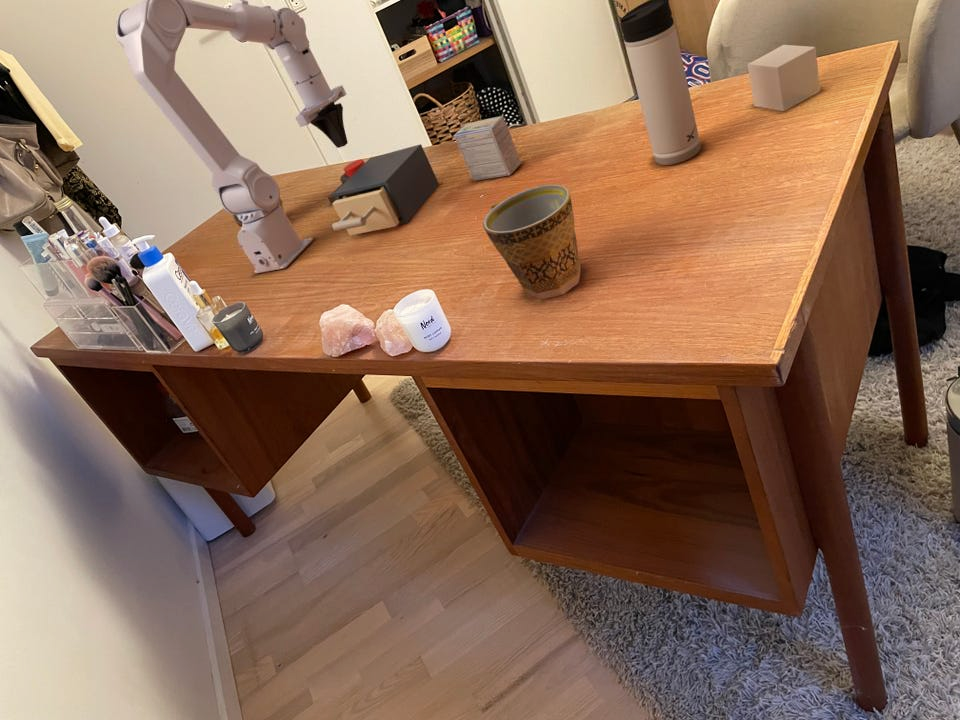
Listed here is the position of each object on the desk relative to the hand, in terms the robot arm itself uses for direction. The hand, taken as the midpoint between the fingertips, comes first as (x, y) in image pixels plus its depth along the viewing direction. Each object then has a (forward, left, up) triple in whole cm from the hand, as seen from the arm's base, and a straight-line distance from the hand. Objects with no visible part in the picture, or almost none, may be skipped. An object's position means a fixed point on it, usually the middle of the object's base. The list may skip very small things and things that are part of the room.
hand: (342, 145), depth 135 cm
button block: (+1, 0, -9) cm, 9 cm away
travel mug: (-16, -67, -9) cm, 69 cm away
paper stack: (-8, -35, -9) cm, 37 cm away
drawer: (-20, -17, -8) cm, 27 cm away
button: (+1, 0, -6) cm, 6 cm away
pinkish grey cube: (-5, -80, -9) cm, 81 cm away
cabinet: (-14, -17, -9) cm, 24 cm away
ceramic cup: (-45, -56, -9) cm, 72 cm away
